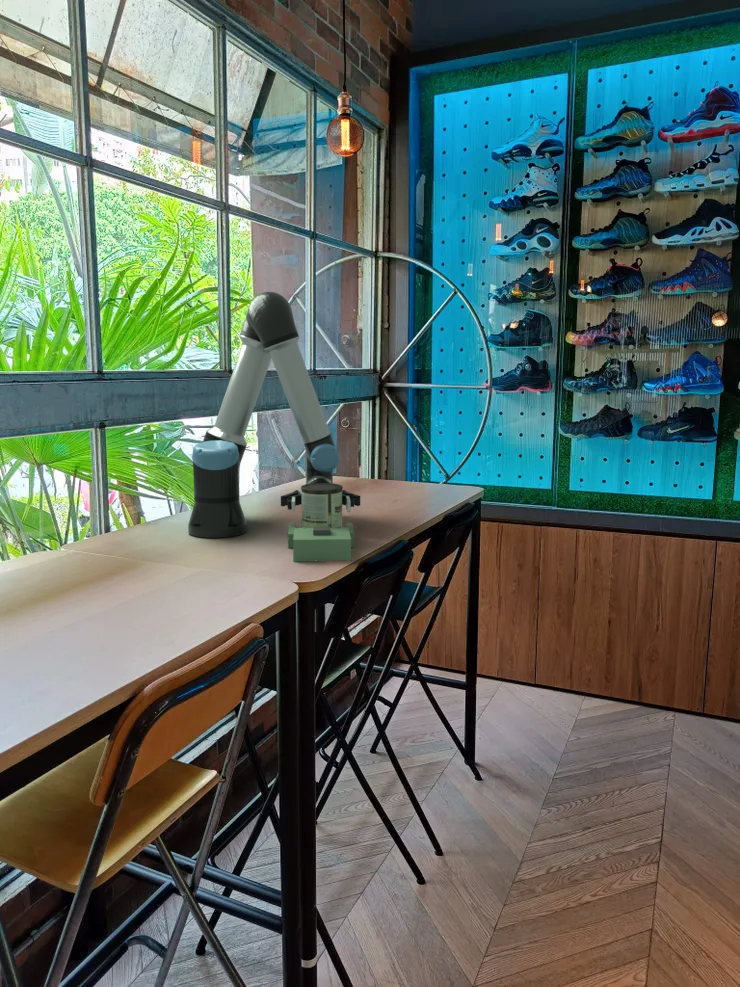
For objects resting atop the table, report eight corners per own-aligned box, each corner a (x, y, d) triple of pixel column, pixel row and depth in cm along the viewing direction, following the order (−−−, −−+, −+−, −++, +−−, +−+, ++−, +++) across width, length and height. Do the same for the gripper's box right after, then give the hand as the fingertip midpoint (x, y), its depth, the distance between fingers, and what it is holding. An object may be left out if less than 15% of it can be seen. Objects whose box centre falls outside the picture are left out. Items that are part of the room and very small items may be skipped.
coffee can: (305, 536, 191) (305, 482, 188) (345, 537, 190) (345, 483, 187) (297, 545, 181) (297, 488, 178) (339, 547, 180) (339, 490, 177)
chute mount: (286, 561, 166) (286, 534, 165) (289, 536, 190) (289, 513, 189) (357, 560, 168) (357, 533, 167) (351, 536, 191) (351, 512, 190)
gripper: (365, 505, 203) (371, 521, 182) (274, 505, 201) (269, 522, 180) (365, 477, 202) (372, 491, 181) (273, 478, 200) (269, 491, 179)
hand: (321, 506), depth 180 cm, fingers open, 13 cm apart
